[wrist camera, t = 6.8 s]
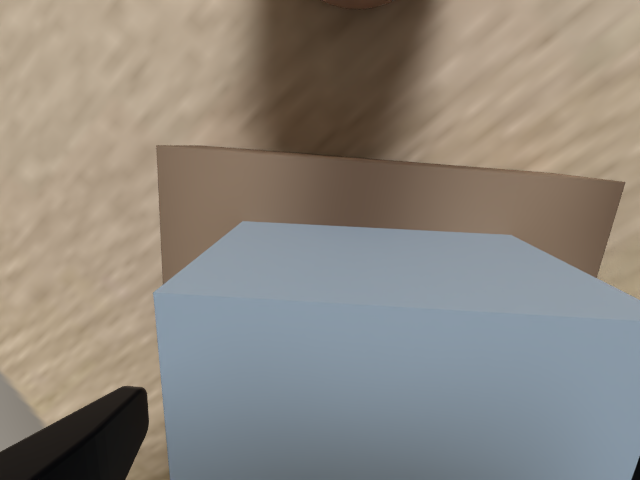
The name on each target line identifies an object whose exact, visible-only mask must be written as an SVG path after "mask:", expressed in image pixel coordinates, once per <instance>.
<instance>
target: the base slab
mask: <svg viewBox="0 0 640 480" xmlns="http://www.w3.org/2000/svg"><path fill="white" fill-rule="evenodd" d="M156 147H157V168H158V189H159V210H160V232H161V253H162V274H163V284H165V283H166V282H167V281H168V280H170V279H171V278H172V277H173V276H175V275H176V274H177V273H178V272H180V271H181V270H182V269H183V268H185V267H186V266H187V265H188V264H190V263H191V262H192V261H193V260H195V259H196V258H197V257H198V256H200V255H201V254H202V253H203V252H205V251H206V250H207V249H208V248H210V247H211V246H212V245H213V244H215V243H216V242H217V241H218V240H220V239H221V238H222V237H223V236H225V235H226V234H227V233H228V232H230V231H231V230H232V229H233V228H235V227H236V226H237V225H238V224H240V223H241V222H242V221H250V222H269V223H289V224H308V225H328V226H347V227H367V228H386V229H405V230H425V231H444V232H464V233H483V234H503V235H512V236H514V237H516V238H518V239H520V240H522V241H524V242H526V243H528V244H530V245H532V246H534V247H536V248H538V249H540V250H542V251H544V252H546V253H548V254H550V255H552V256H554V257H556V258H558V259H560V260H562V261H564V262H565V263H567V264H569V265H571V266H573V267H575V268H577V269H579V270H581V271H583V272H585V273H587V274H589V275H591V276H593V277H595V278H597V274H598V271H599V268H600V265H601V261H602V258H603V255H604V251H605V248H606V245H607V241H608V238H609V235H610V232H611V228H612V225H613V222H614V218H615V215H616V212H617V208H618V205H619V202H620V199H621V195H622V192H623V189H624V185H625V182H620V181H612V180H604V179H596V178H588V177H580V176H572V175H563V174H555V173H544V172H531V171H518V170H505V169H492V168H480V167H467V166H454V165H441V164H428V163H416V162H403V161H390V160H377V159H364V158H352V157H339V156H326V155H313V154H300V153H288V152H275V151H262V150H249V149H236V148H224V147H211V146H166V145H156Z"/></svg>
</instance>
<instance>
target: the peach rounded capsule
mask: <svg viewBox="0 0 640 480" xmlns="http://www.w3.org/2000/svg"><path fill="white" fill-rule="evenodd" d="M322 1H324V2H326V3H328V4H331V5H334V6H338V7H342V8H349V9H367V8H373V7H378V6H381V5H384V4H387V3H390V2H392V1H394V0H322Z"/></svg>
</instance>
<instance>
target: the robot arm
mask: <svg viewBox="0 0 640 480" xmlns="http://www.w3.org/2000/svg"><path fill="white" fill-rule="evenodd" d="M148 425H149V416H148V401H147V392H146V390H145V389H144V388H142V387H134V386H123V387H121V388H119V389H117V390H115V391H113V392H111V393H109V394H107V395H105V396H104V397H102V398H100V399H98V400H96V401H94V402H92V403H91V404H89V405H87V406H85V407H83V408H81V409H79V410H77V411H76V412H74V413H72V414H70V415H68V416H66V417H64V418H62V419H61V420H59V421H57V422H55V423H53V424H51V425H49V426H48V427H46V428H44V429H42V430H40V431H38V432H36V433H34V434H33V435H31V436H29V437H27V438H25V439H23V440H22V441H20V442H18V443H16V444H14V445H12V446H10V447H8V448H6V449H5V450H3V451H1V452H0V480H125V479H126V477H127V475H128V473H129V470H130V468H131V466H132V464H133V462H134V460H135V457H136V455H137V453H138V451H139V449H140V447H141V444H142V442H143V440H144V438H145V436H146V433H147V430H148ZM631 480H640V456H639V459H638V462H637V465H636V468H635V471H634V473H633V476H632V479H631Z"/></svg>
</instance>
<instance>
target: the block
mask: <svg viewBox="0 0 640 480" xmlns="http://www.w3.org/2000/svg"><path fill="white" fill-rule="evenodd" d="M153 295H154V306H155V317H156V328H157V339H158V350H159V362H160V373H161V384H162V395H163V406H164V417H165V428H166V440H167V451H168V462H169V473H170V480H631V479H632V476H633V473H634V471H635V468H636V465H637V462H638V459H639V456H640V300H638V299H636V298H635V297H633V296H631V295H629V294H627V293H625V292H623V291H621V290H619V289H617V288H615V287H613V286H611V285H609V284H607V283H605V282H603V281H601V280H599V279H597V278H595V277H593V276H591V275H589V274H587V273H585V272H583V271H581V270H579V269H577V268H575V267H573V266H571V265H569V264H567V263H565V262H564V261H562V260H560V259H558V258H556V257H554V256H552V255H550V254H548V253H546V252H544V251H542V250H540V249H538V248H536V247H534V246H532V245H530V244H528V243H526V242H524V241H522V240H520V239H518V238H516V237H514V236H512V235H503V234H483V233H464V232H444V231H425V230H405V229H386V228H367V227H347V226H328V225H308V224H289V223H269V222H250V221H242V222H241V223H240V224H238V225H237V226H236V227H235V228H233V229H232V230H231V231H230V232H228V233H227V234H226V235H225V236H223V237H222V238H221V239H220V240H218V241H217V242H216V243H215V244H213V245H212V246H211V247H210V248H208V249H207V250H206V251H205V252H203V253H202V254H201V255H200V256H198V257H197V258H196V259H195V260H193V261H192V262H191V263H190V264H188V265H187V266H186V267H185V268H183V269H182V270H181V271H180V272H178V273H177V274H176V275H175V276H173V277H172V278H171V279H170V280H168V281H167V282H166V283H165V284H163V285H162V286H161V287H160V288H158V289H157V290H156V291H155V292H153Z"/></svg>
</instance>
